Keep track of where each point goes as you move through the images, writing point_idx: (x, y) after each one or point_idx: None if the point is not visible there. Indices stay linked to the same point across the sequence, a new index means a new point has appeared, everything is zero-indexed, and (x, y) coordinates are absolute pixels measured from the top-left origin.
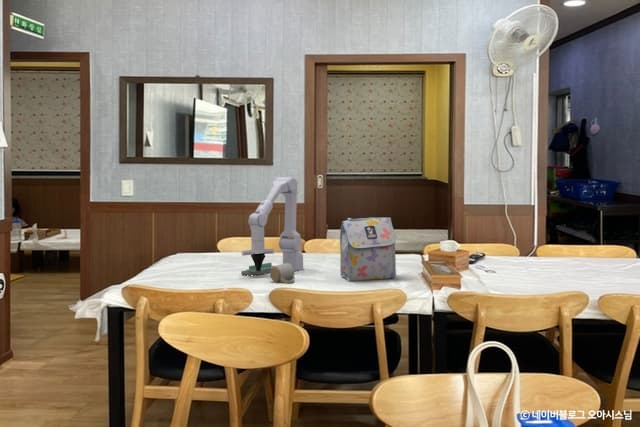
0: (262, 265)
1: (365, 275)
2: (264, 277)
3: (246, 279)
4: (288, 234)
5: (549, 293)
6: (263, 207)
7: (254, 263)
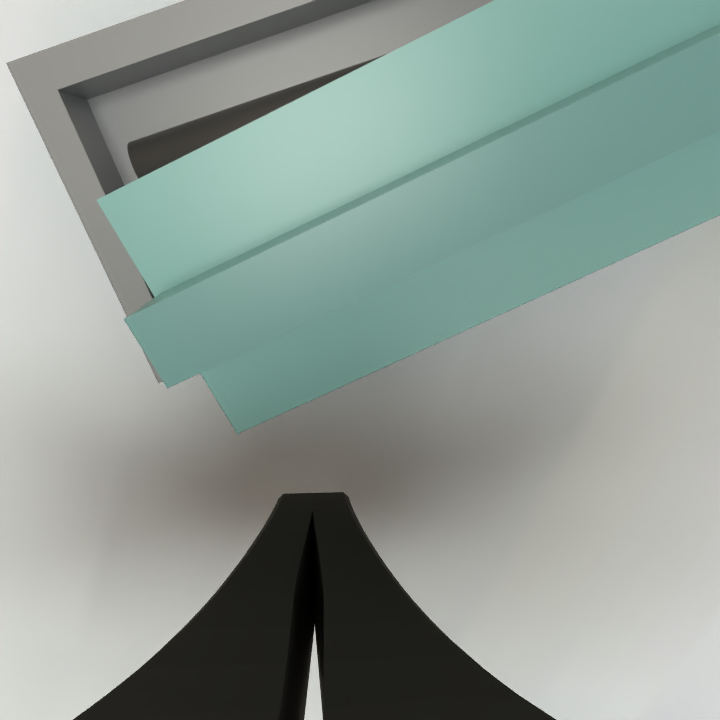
0: (614, 171)
1: None
2: (390, 540)
3: (62, 592)
4: None
5: None
6: None
7: (220, 593)
